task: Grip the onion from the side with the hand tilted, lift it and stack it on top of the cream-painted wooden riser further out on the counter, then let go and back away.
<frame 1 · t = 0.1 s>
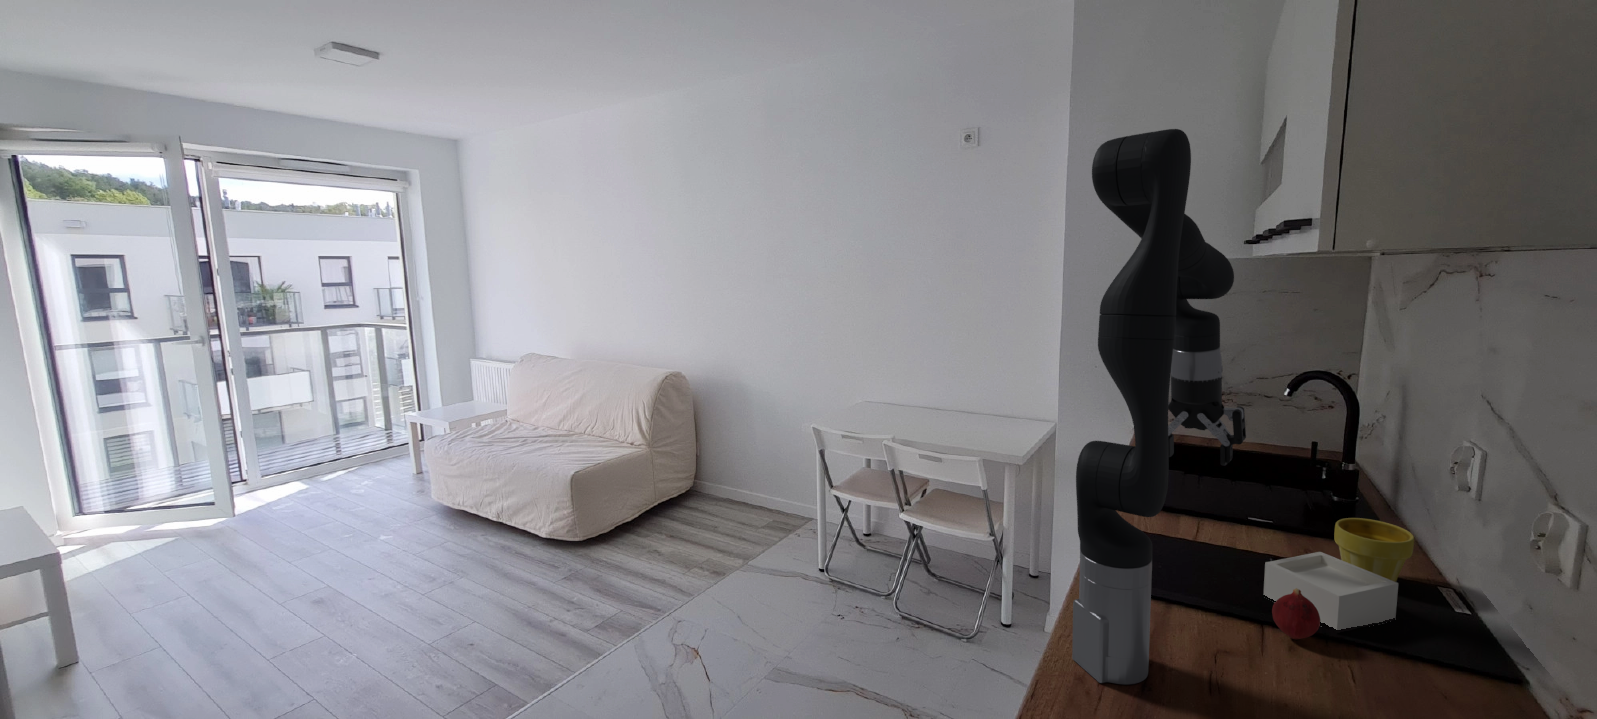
hand: (1196, 459, 115), 22 cm above the counter, tool pointing down, fingers open, 8 cm apart
riser: (1326, 609, 106), on the counter
plant pot: (1369, 582, 114), on the counter
onion: (1294, 639, 98), on the counter
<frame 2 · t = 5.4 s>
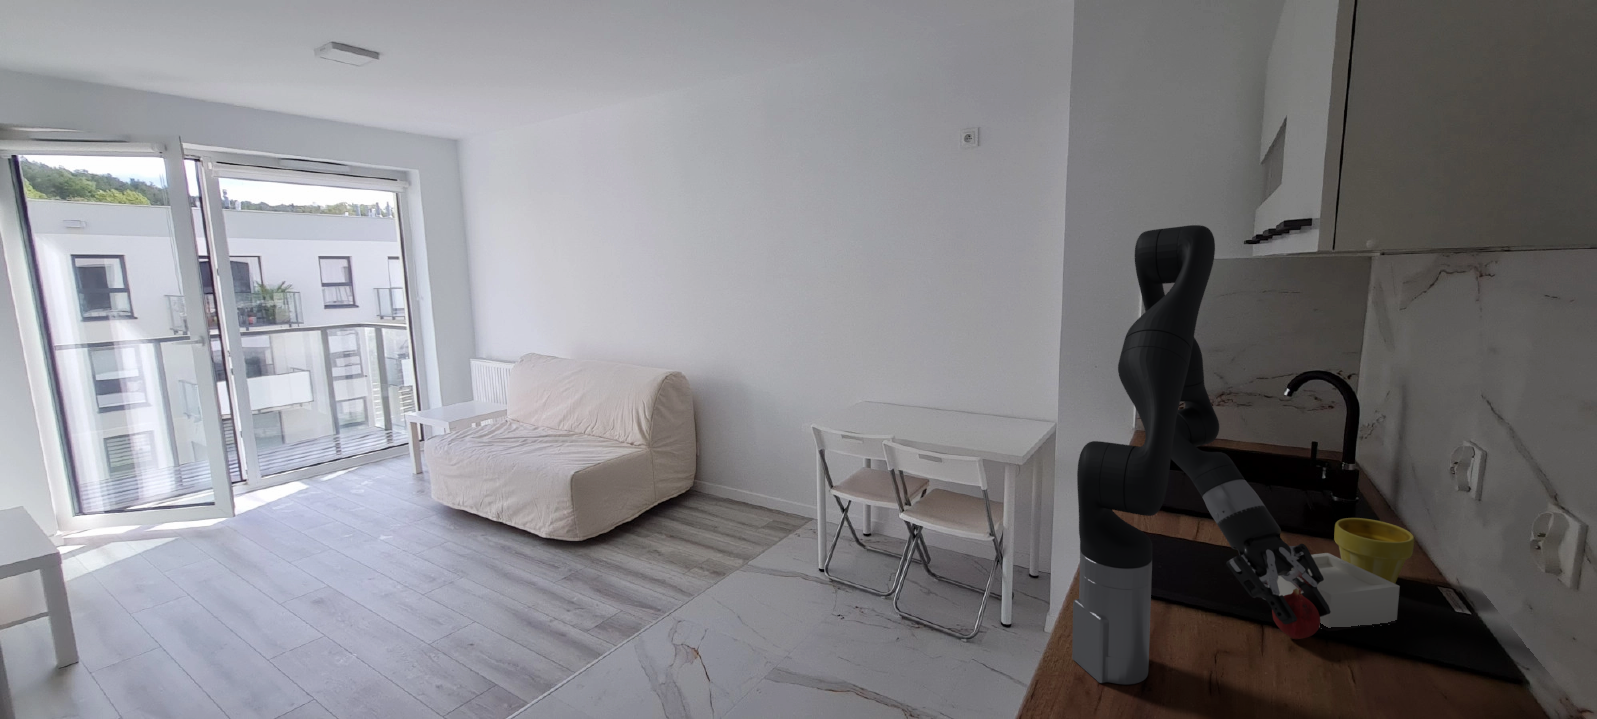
hand: (1307, 618, 96), 4 cm above the counter, tool tilted 45°, fingers closed on onion, 5 cm apart
onion: (1294, 639, 98), on the counter, touching gripper
everything else where it was.
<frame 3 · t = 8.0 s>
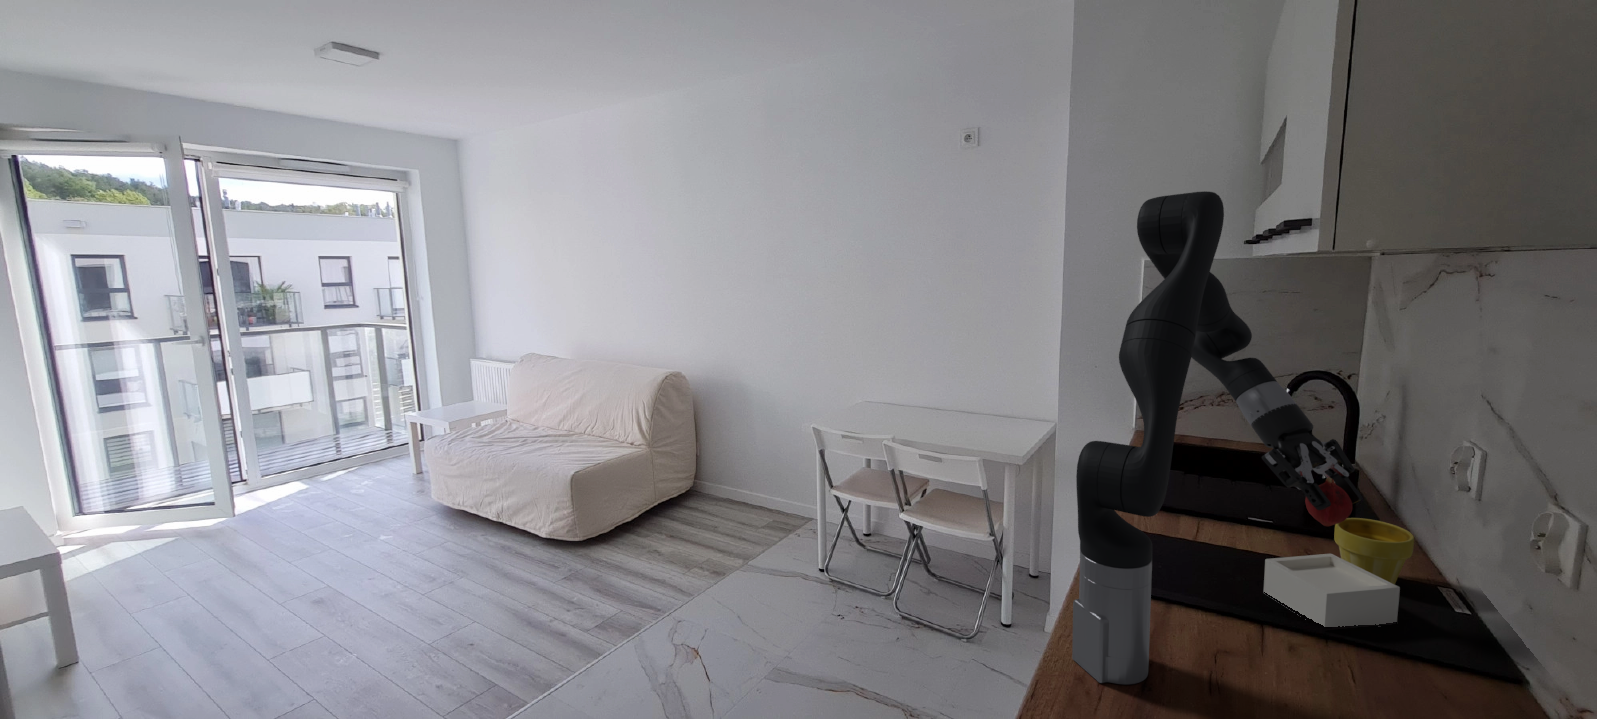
hand: (1340, 504, 101), 19 cm above the counter, tool tilted 45°, fingers closed on onion, 5 cm apart
onion: (1326, 527, 104), point 14 cm above the counter, touching gripper
everything else where it was.
when the fingers open (11 cm above the counter, at t = 10.5 s): onion drops 2 cm, resting on riser.
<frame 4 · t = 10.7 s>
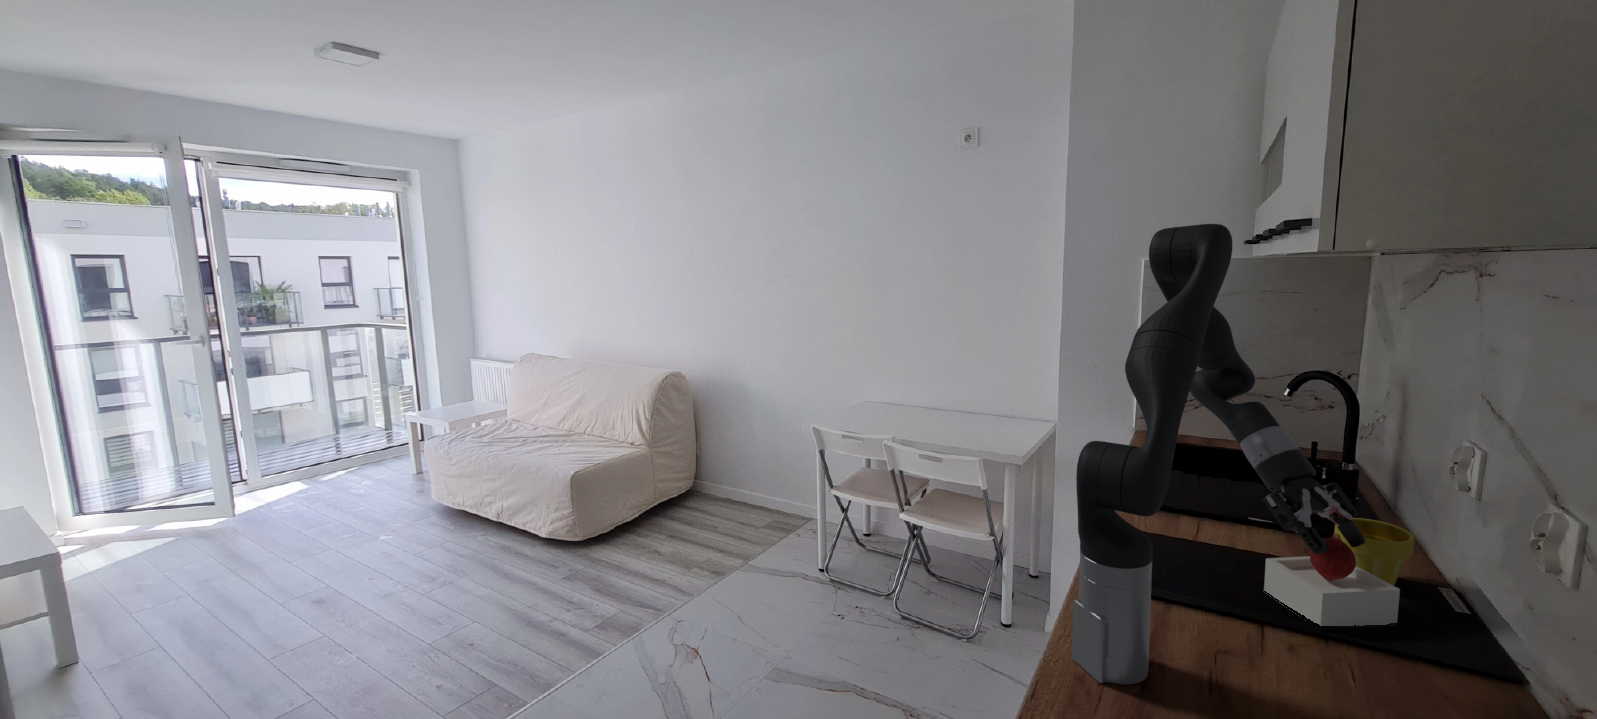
hand: (1341, 548, 103), 11 cm above the counter, tool tilted 45°, fingers open, 7 cm apart
riser: (1326, 609, 106), on the counter, touching onion
onion: (1327, 581, 106), point 5 cm above the counter, touching riser
everything else where it was.
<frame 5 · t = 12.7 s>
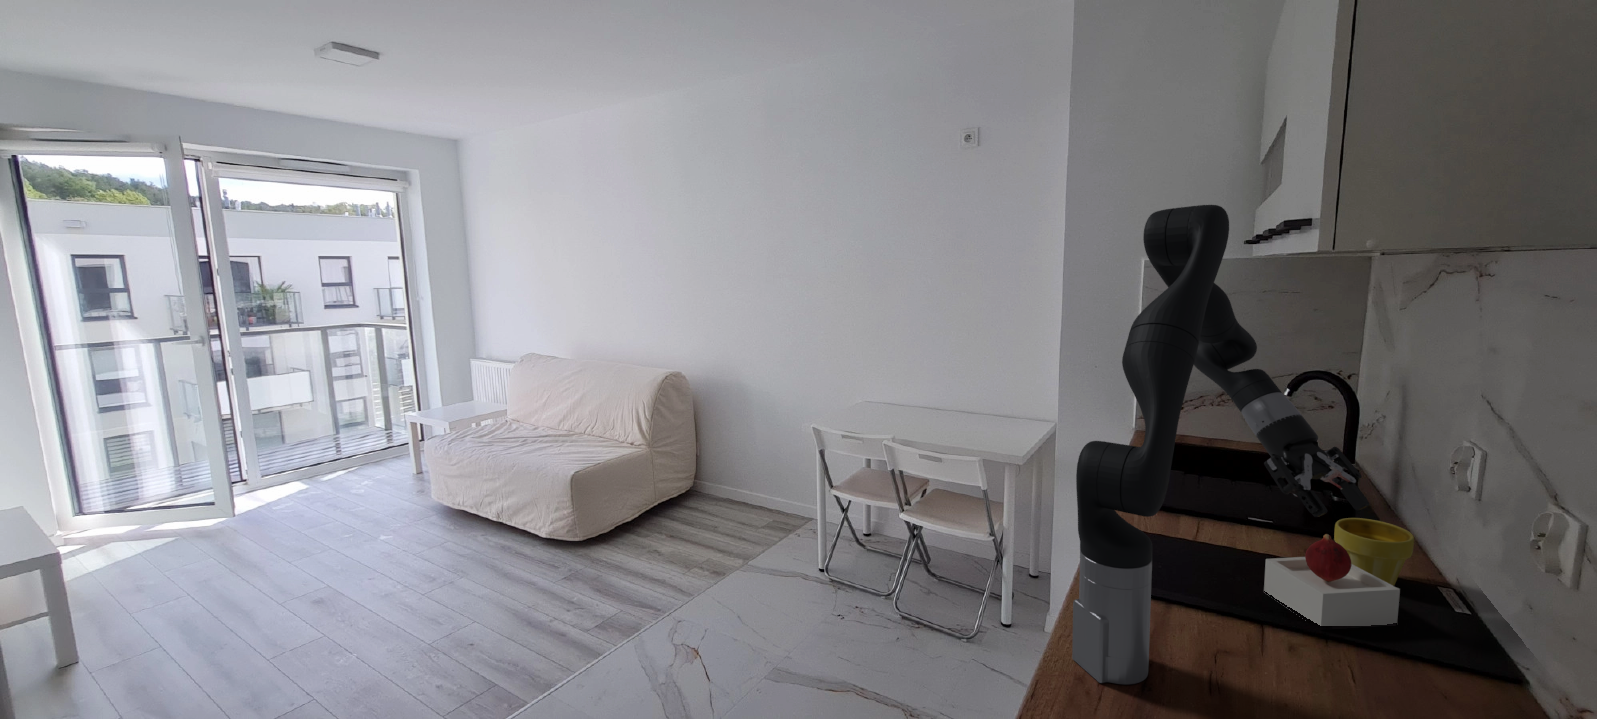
hand: (1342, 511, 102), 17 cm above the counter, tool tilted 45°, fingers open, 8 cm apart
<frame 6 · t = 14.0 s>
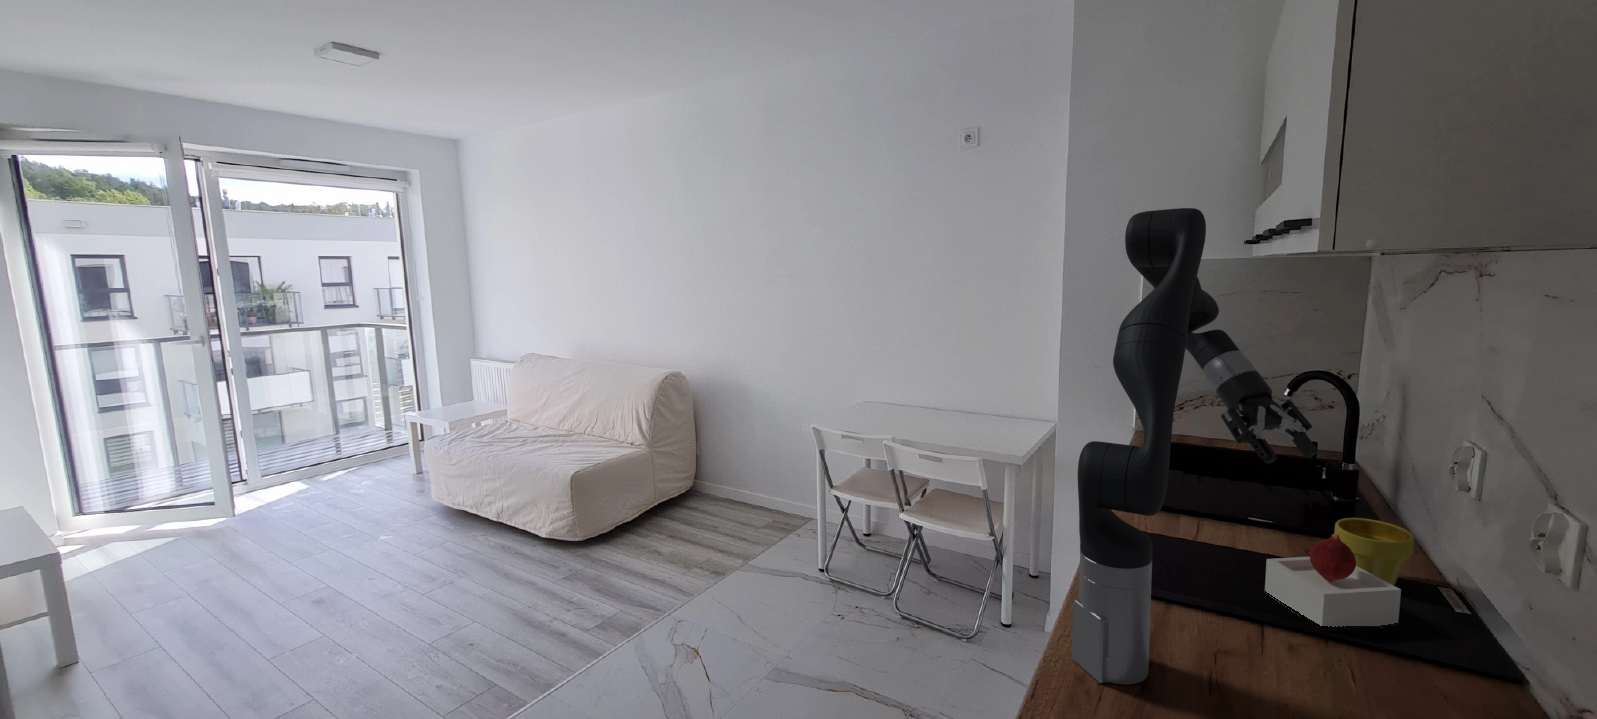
hand: (1292, 458, 110), 23 cm above the counter, tool tilted 45°, fingers open, 8 cm apart
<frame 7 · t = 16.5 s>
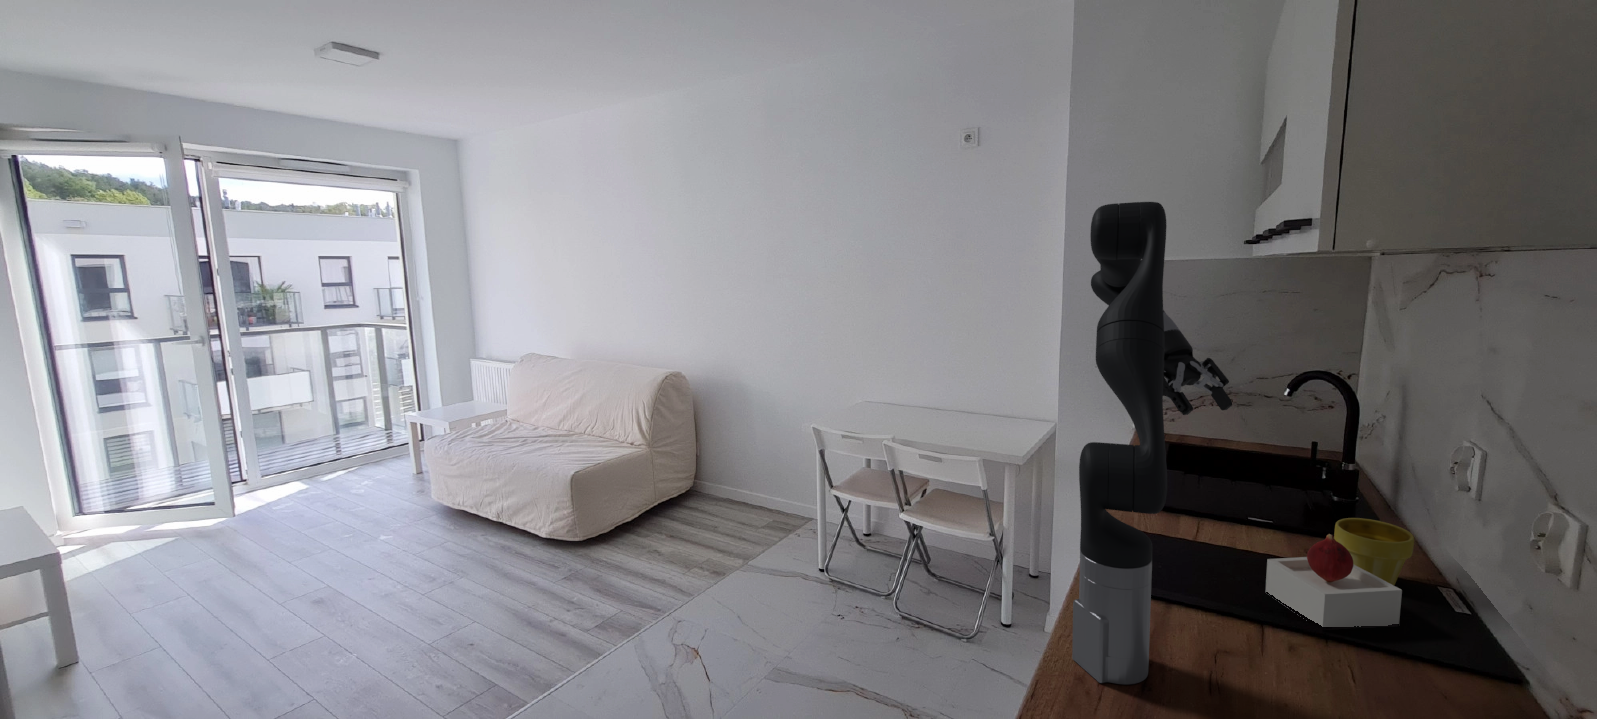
hand: (1208, 410, 116), 31 cm above the counter, tool tilted 45°, fingers open, 8 cm apart
nothing on the counter moved.
at the end: onion inside the target area on the riser (0.1 cm from its centre), point 4.8 cm above the riser's base; onion touching riser; the gripper is holding nothing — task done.
